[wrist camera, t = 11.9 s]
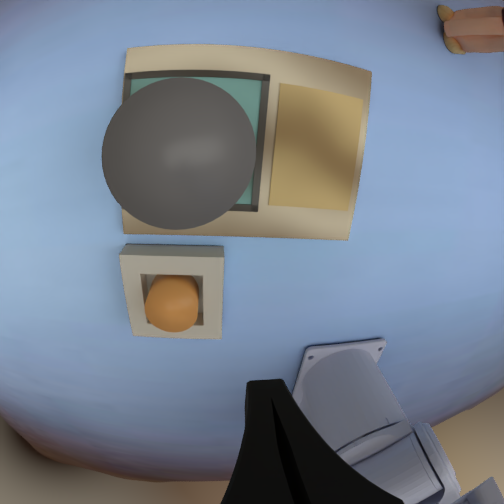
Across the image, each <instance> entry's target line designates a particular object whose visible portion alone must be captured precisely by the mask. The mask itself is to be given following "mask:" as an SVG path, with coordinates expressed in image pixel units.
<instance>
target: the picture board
mask: <svg viewBox="0 0 504 504" xmlns="http://www.w3.org/2000/svg"><path fill="white" fill-rule="evenodd" d="M178 77H185V78H195V79H200V80H204V81H207V82H209V83H212V84H214V85H216V86H218V87H220V88H222V89H223V90H225V91H226V92H227V93H229V94H230V95H231V96H232V97H233V98H234V99H235V100H236V101H237V102H238V103H239V104H240V105H241V107H242V108H243V109H244V111H245V113H246V114H247V116H248V118H249V120H250V122H251V125H252V127H253V131H254V135H255V141H256V161H255V167H254V171H253V174H252V177H251V180H250V182H249V184H248V186H247V188H246V190H245V191H244V193H243V195H242V196H241V197H240V199H239V200H238V201H237V202H236V204H234V205H233V206H232V207H231V208H230V209H229V210H228V211H227V212H226V213H224V214H223V215H222V216H220V217H219V218H217V219H215V220H214V221H211V222H209V223H207V224H205V225H202V226H198V227H195V228H190V229H182V230H170V229H162V228H157V227H154V226H151V225H148V224H146V223H144V222H142V221H139V220H138V219H136V218H135V217H133V216H132V215H130V214H129V213H128V212H127V211H126V210H124V209H123V208H122V219H123V231H124V234H155V235H203V236H240V237H272V238H299V239H325V240H348V238H349V234H350V229H351V224H352V219H353V214H354V209H355V203H356V198H357V192H358V187H359V181H360V174H361V168H362V161H363V154H364V147H365V140H366V131H367V123H368V113H369V103H370V91H371V77H372V72H371V71H367V70H364V69H361V68H357V67H354V66H350V65H347V64H343V63H339V62H335V61H331V60H327V59H323V58H318V57H313V56H308V55H303V54H298V53H292V52H286V51H280V50H272V49H265V48H256V47H246V46H233V45H212V44H178V45H157V46H145V47H135V48H127V55H126V63H125V72H124V81H123V93H122V104H123V103H124V101H126V100H127V99H128V98H129V97H130V96H131V95H132V94H134V93H135V92H137V91H138V90H140V89H141V88H143V87H145V86H147V85H149V84H151V83H154V82H157V81H160V80H164V79H169V78H178Z"/></svg>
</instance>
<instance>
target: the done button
mask: <svg viewBox="0 0 504 504" xmlns="http://www.w3.org/2000/svg"><path fill="white" fill-rule="evenodd" d="M198 300H199V286H198V284H197V282H196V280H195V279H194V277H193V276H192V275H163V274H157V275H156V276H155V278H154V279H153V281H152V284H151V287H150V290H149V293H148V296H147V299H146V302H145V308H144V309H145V314H146V317H147V318H148V320H149V321H150V322H151V323H152V324H153V325H154V326H155V327H157V328H159V329H161V330H163V331H166V332H182V331H185V330H187V329H189V328H190V327H192V326H193V324H194V323H195V322H196V320H197V316H198Z"/></svg>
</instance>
